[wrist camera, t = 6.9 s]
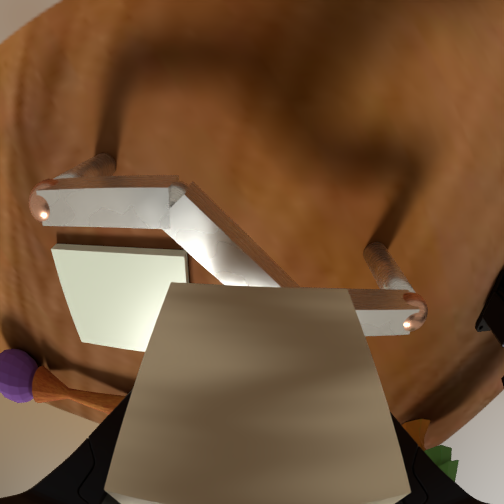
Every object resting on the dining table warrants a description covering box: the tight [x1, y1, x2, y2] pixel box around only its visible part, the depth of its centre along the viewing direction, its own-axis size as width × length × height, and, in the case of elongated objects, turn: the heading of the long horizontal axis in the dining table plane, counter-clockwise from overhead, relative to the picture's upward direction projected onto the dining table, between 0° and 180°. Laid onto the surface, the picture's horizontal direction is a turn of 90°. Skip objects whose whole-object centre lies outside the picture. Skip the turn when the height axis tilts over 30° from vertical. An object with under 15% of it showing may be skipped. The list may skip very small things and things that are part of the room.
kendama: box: [0, 349, 126, 414], centre depth 25 cm, size 6×6×20 cm
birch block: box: [104, 282, 411, 504], centre depth 7 cm, size 5×5×6 cm
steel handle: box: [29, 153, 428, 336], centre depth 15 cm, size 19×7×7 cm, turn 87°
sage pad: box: [51, 244, 189, 352], centre depth 21 cm, size 10×9×1 cm
